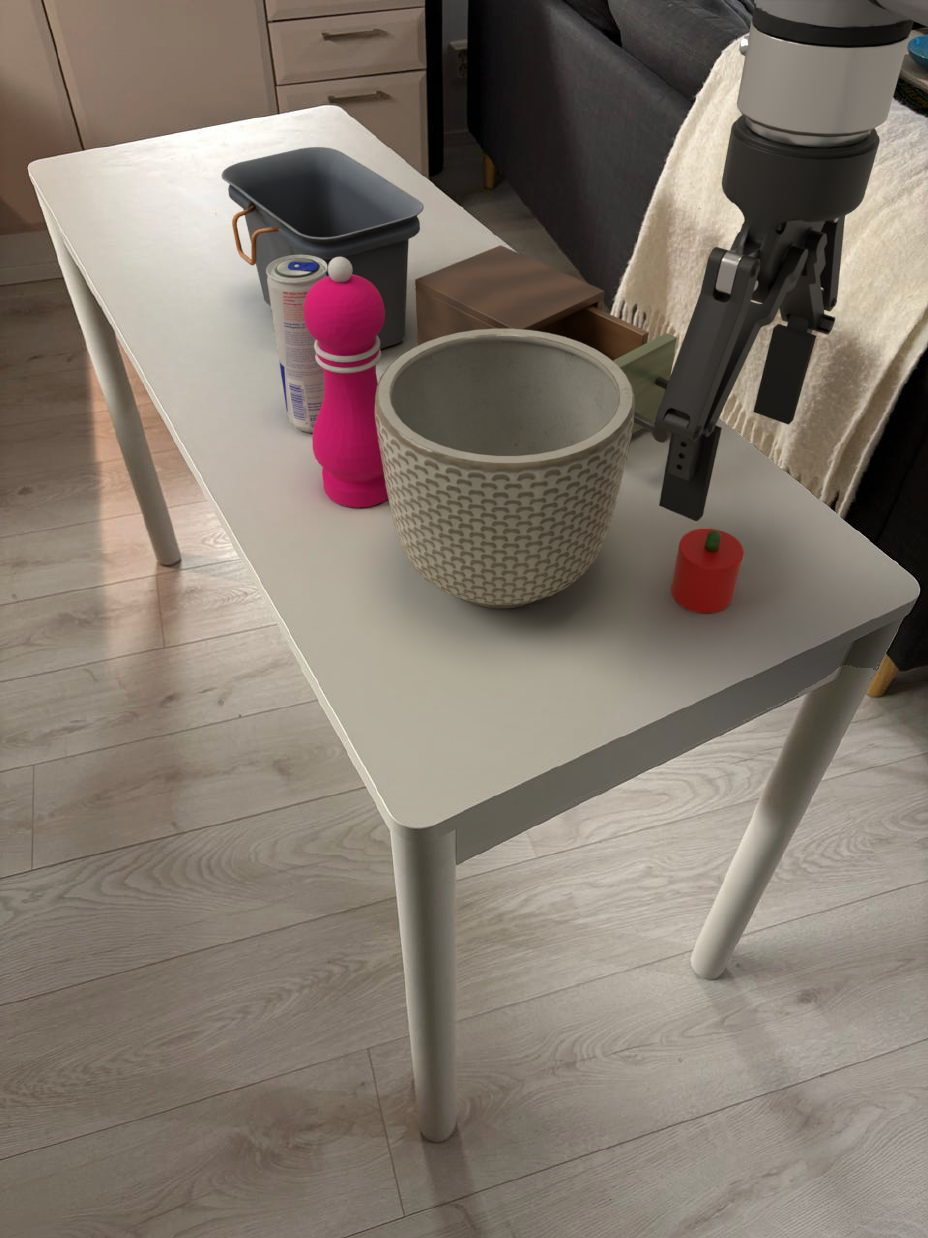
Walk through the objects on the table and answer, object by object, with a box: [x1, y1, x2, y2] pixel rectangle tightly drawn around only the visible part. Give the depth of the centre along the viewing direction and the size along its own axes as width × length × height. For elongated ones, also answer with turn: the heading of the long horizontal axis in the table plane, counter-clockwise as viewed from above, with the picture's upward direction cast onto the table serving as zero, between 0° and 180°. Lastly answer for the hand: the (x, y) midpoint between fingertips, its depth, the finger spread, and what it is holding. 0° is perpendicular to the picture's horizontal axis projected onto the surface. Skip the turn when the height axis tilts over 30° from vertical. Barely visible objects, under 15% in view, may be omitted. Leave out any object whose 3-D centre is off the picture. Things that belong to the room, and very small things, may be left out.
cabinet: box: [414, 245, 605, 346], centre depth 93 cm, size 14×11×10 cm
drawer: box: [536, 306, 678, 444], centre depth 86 cm, size 19×10×8 cm, turn 43°
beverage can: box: [266, 255, 329, 434], centre depth 85 cm, size 5×5×15 cm
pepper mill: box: [303, 257, 389, 508], centre depth 76 cm, size 7×7×20 cm
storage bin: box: [221, 146, 425, 350], centre depth 99 cm, size 21×16×14 cm
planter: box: [375, 329, 635, 610], centre depth 70 cm, size 17×17×16 cm
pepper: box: [670, 527, 745, 614], centre depth 71 cm, size 5×5×6 cm
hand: (729, 461), depth 65 cm, fingers open, 13 cm apart
